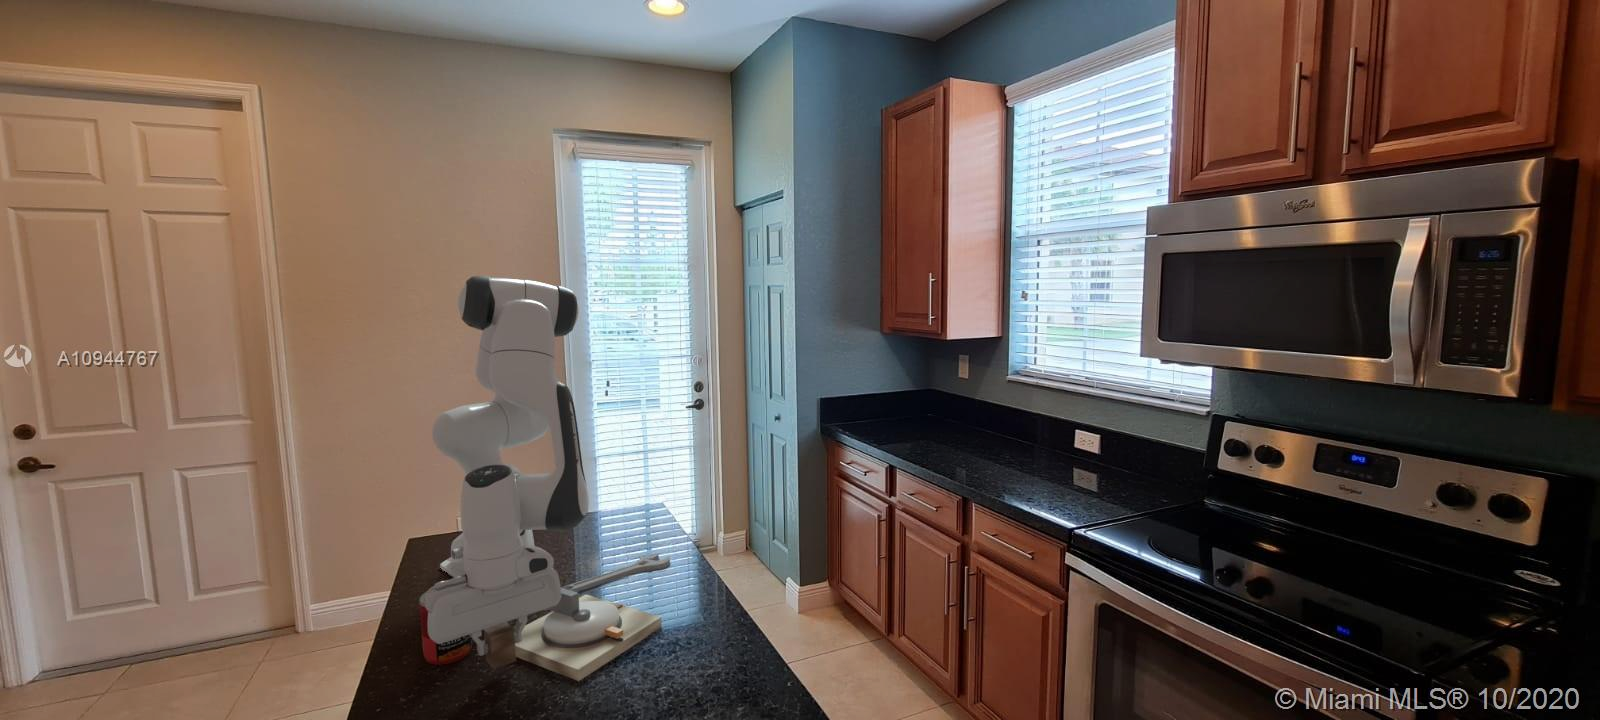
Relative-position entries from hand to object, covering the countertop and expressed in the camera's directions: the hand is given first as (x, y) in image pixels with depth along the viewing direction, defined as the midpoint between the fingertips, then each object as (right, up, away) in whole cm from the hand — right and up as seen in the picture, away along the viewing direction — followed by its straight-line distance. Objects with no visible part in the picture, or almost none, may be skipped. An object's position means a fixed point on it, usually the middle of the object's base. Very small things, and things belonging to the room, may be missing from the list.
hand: (500, 647), depth 111 cm
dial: (+10, -1, +12) cm, 15 cm away
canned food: (-12, -4, +7) cm, 15 cm away
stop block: (0, -2, 0) cm, 2 cm away
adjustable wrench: (+9, -1, +39) cm, 40 cm away
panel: (+10, -3, +12) cm, 16 cm away
